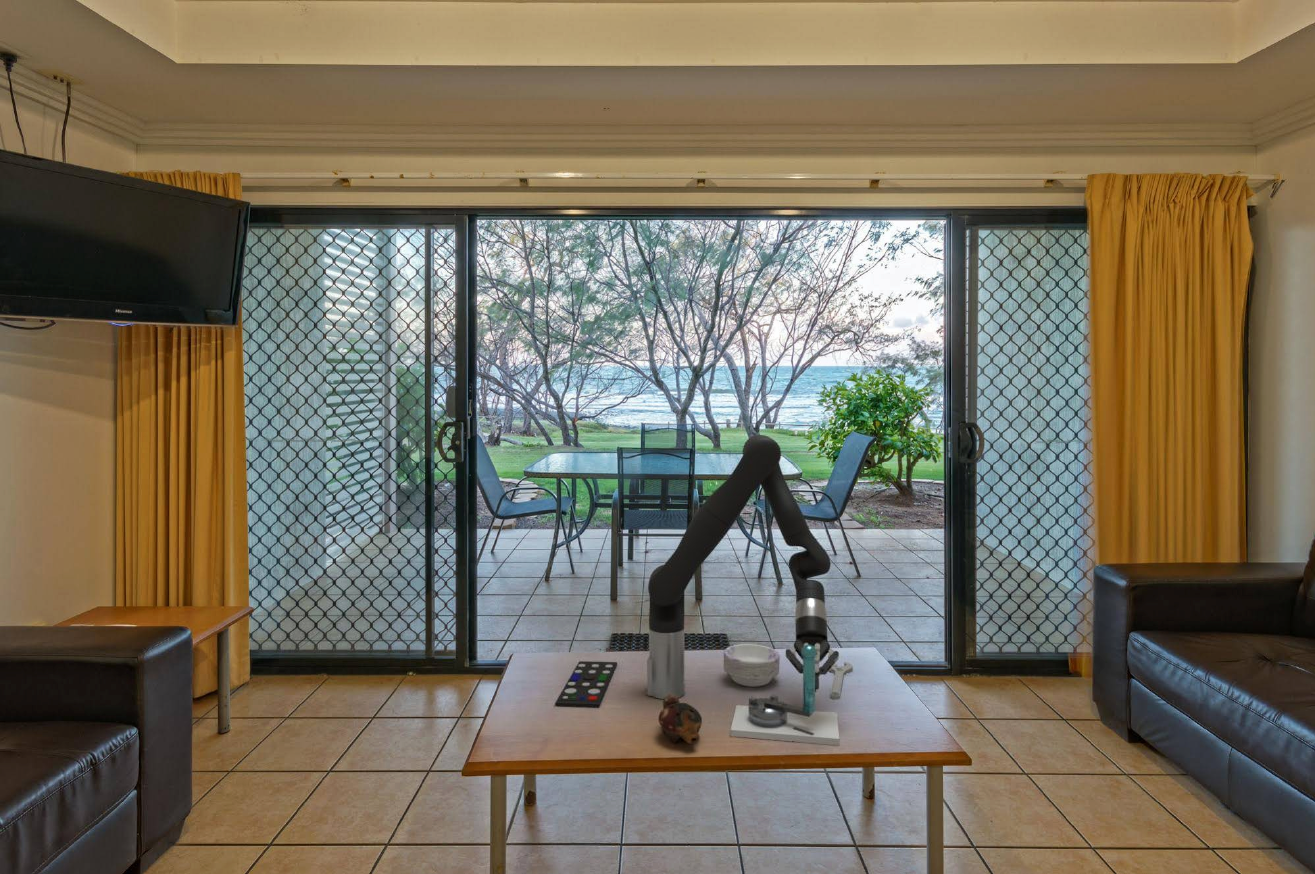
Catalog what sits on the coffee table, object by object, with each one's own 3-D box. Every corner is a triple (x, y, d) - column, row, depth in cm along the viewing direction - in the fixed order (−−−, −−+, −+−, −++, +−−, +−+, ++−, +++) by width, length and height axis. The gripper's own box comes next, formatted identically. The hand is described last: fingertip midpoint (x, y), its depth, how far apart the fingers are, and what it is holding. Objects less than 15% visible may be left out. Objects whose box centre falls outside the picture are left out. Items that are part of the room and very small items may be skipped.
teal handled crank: (742, 721, 171) (742, 640, 171) (757, 707, 179) (757, 629, 178) (809, 737, 163) (809, 652, 162) (822, 722, 171) (822, 640, 170)
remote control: (555, 708, 185) (555, 700, 185) (579, 666, 215) (579, 659, 215) (599, 709, 184) (599, 701, 184) (617, 666, 214) (617, 660, 214)
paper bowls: (790, 686, 198) (790, 656, 197) (740, 694, 192) (740, 664, 191) (761, 667, 212) (761, 640, 211) (713, 675, 206) (713, 647, 205)
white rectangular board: (730, 736, 168) (730, 728, 168) (736, 711, 181) (736, 704, 181) (839, 745, 163) (839, 737, 163) (836, 718, 177) (836, 711, 177)
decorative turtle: (681, 720, 176) (684, 688, 176) (714, 751, 163) (717, 716, 162) (645, 727, 172) (647, 693, 171) (676, 758, 158) (679, 723, 158)
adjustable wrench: (839, 702, 188) (839, 695, 188) (814, 698, 190) (814, 692, 190) (853, 668, 211) (853, 662, 211) (831, 666, 213) (831, 660, 213)
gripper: (783, 613, 179) (783, 682, 167) (839, 614, 176) (843, 685, 165) (783, 627, 184) (784, 695, 173) (838, 629, 182) (842, 698, 171)
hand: (813, 690), depth 169 cm, fingers closed
